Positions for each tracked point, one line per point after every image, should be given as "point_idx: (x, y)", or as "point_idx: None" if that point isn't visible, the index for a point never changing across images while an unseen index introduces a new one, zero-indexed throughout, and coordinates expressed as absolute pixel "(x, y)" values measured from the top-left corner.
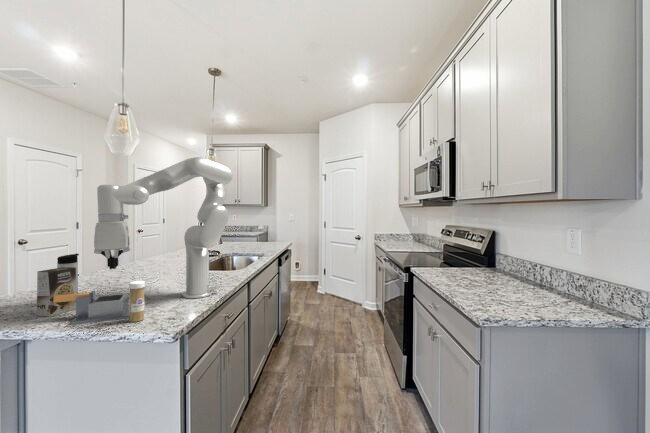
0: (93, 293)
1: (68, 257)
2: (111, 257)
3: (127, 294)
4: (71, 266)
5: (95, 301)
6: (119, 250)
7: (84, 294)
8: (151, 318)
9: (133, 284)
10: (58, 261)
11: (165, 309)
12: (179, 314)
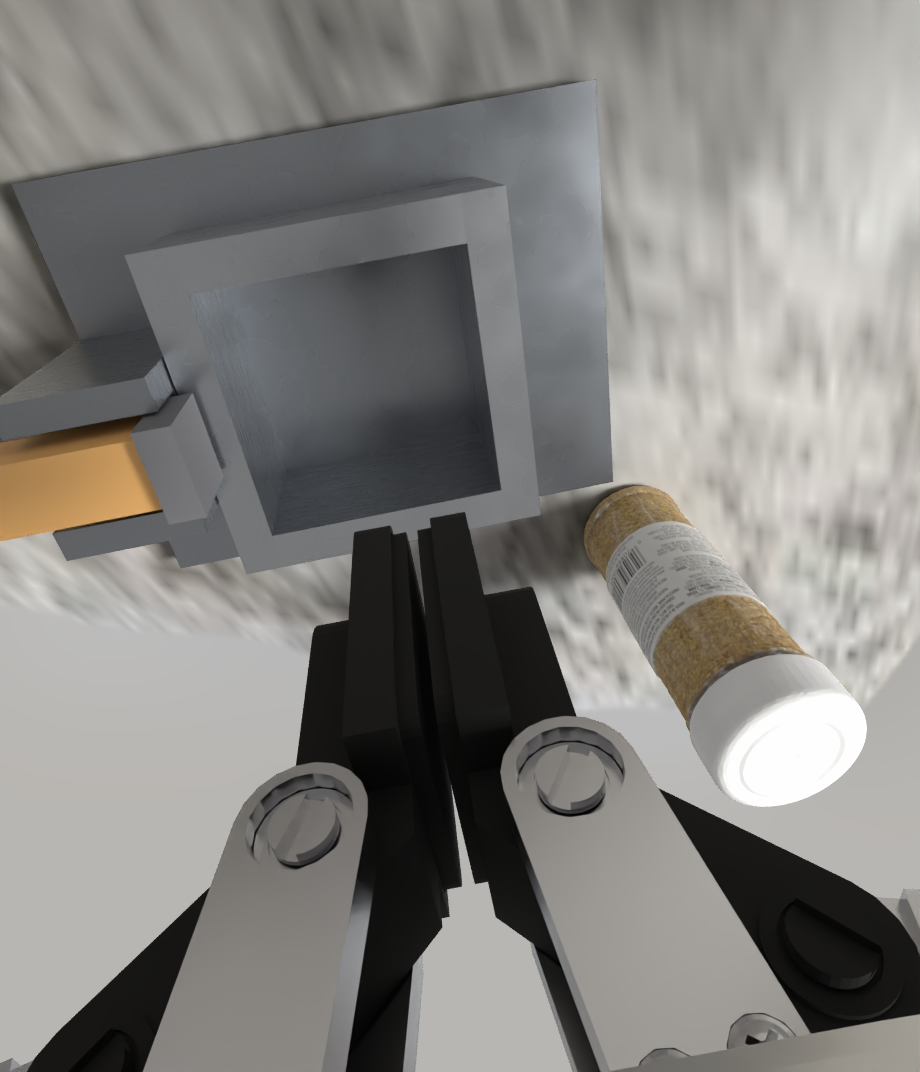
0: (206, 502)
1: None
2: (435, 878)
3: (509, 232)
4: None
5: (252, 470)
6: (750, 1007)
7: (109, 515)
8: (723, 510)
9: (757, 802)
10: None
11: (828, 300)
12: (914, 459)
